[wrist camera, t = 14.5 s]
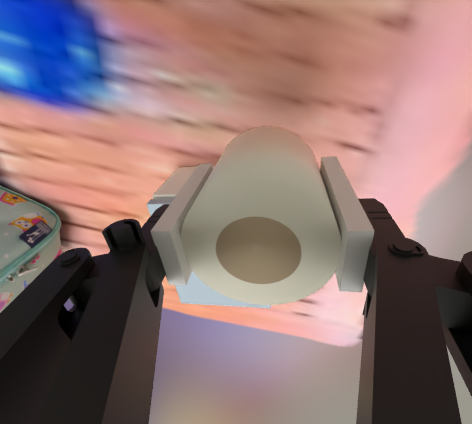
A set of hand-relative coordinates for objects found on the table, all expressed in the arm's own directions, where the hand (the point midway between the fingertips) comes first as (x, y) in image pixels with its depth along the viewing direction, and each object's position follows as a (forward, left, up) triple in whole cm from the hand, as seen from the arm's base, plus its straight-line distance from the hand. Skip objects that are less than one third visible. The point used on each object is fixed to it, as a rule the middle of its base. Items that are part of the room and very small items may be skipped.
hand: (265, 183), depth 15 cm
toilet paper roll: (0, 0, -1) cm, 1 cm away
